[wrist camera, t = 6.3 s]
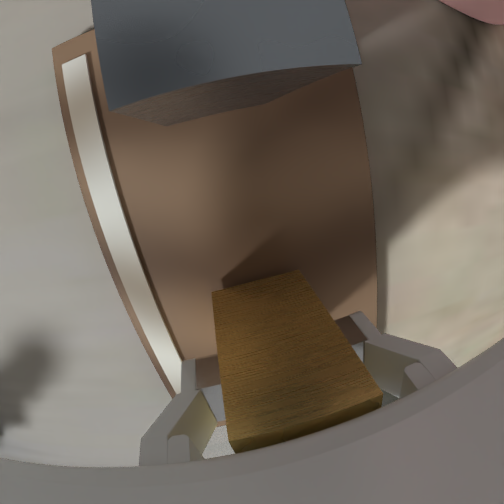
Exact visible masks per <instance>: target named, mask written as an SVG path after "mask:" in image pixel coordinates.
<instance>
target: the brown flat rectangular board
mask: <svg viewBox="0 0 504 504" xmlns="http://www.w3.org/2000/svg"><path fill="white" fill-rule="evenodd" d="M52 54H53V62H54V70H55V77H56V83H57V89H58V95H59V101H60V106H61V111H62V116H63V121H64V126H65V130H66V135H67V139H68V143H69V147H70V151H71V155H72V159H73V163H74V167H75V171H76V174H77V178H78V181H79V185H80V188H81V191H82V195H83V198H84V201H85V204H86V207H87V210H88V213H89V217H90V219H91V222H92V225H93V228H94V231H95V234H96V237H97V239H98V242H99V245H100V248H101V250H102V253H103V256H104V258H105V261H106V263H107V266H108V268H109V271H110V273H111V276H112V278H113V281H114V283H115V285H116V288H117V290H118V292H119V295H120V297H121V299H122V301H123V304H124V306H125V308H126V310H127V313H128V315H129V317H130V319H131V321H132V323H133V325H134V327H135V330H136V332H137V334H138V336H139V338H140V340H141V342H142V344H143V346H144V348H145V350H146V352H147V354H148V355H149V357H150V359H151V361H152V363H153V365H154V367H155V369H156V371H157V372H158V374H159V376H160V378H161V380H162V381H163V383H164V385H165V387H166V388H167V390H168V392H169V394H170V395H171V397H172V399H173V398H174V397H175V395H176V394H179V393H181V363H182V361H184V360H189V359H194V358H198V357H203V356H208V355H212V354H217V344H216V335H215V325H214V315H213V304H212V293H211V292H214V291H218V290H222V289H226V288H229V287H233V286H237V285H241V284H245V283H249V282H253V281H256V280H260V279H264V278H268V277H271V276H275V275H279V274H283V273H286V272H290V271H294V270H297V269H299V271H300V272H301V274H302V275H303V276H304V278H305V279H306V281H307V282H308V284H309V285H310V286H311V288H312V289H313V291H314V292H315V294H316V295H317V296H318V298H319V299H320V301H321V302H322V304H323V305H324V307H325V308H326V309H327V311H328V312H329V314H330V315H331V317H332V318H333V320H336V319H339V318H342V317H345V316H348V315H350V314H352V313H355V312H358V311H362V312H363V313H364V314H365V316H366V317H367V318H368V319H369V320H370V321H371V323H372V324H373V325H374V326H375V327H376V328H377V259H376V236H375V220H374V207H373V196H372V185H371V176H370V167H369V159H368V152H367V145H366V138H365V131H364V125H363V119H362V113H361V108H360V102H359V97H358V92H357V87H356V82H355V77H354V73H353V68H349V69H346V70H344V71H341V72H338V73H336V74H333V75H331V76H328V77H326V78H323V79H321V80H318V81H316V82H313V83H311V84H309V85H306V86H304V87H302V88H299V89H297V90H295V91H292V92H290V93H288V94H286V95H284V96H281V97H279V98H277V99H275V100H273V101H271V102H269V103H266V104H263V105H258V106H252V107H247V108H242V109H237V110H232V111H227V112H223V113H218V114H214V115H210V116H205V117H201V118H197V119H193V120H189V121H186V122H182V123H178V124H174V125H171V126H163V125H160V124H156V123H153V122H149V121H145V120H142V119H138V118H134V117H130V116H126V115H123V114H119V113H115V112H110V111H109V109H108V104H107V99H106V94H105V89H104V84H103V79H102V73H101V68H100V62H99V56H98V50H97V43H96V37H95V29H94V30H91V31H89V32H86V33H84V34H82V35H79V36H77V37H75V38H73V39H70V40H68V41H66V42H64V43H62V44H60V45H58V46H56V47H54V48H52ZM223 425H226V420H223V421H219V422H218V424H217V426H216V427H218V426H223Z"/></svg>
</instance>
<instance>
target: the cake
mask: <svg viewBox="0 0 504 504" xmlns="http://www.w3.org/2000/svg"><path fill="white" fill-rule="evenodd" d="M439 1H441V2H442V3H444V4H446V5H448V6H450V7H452V8H454V9H456V10H458V11H460V12H462V13H464V14H466V15H468V16H470V17H472V18H475V19H477V20H480V21H483V22H486V23H490V24H496V25H503V24H504V0H439Z"/></svg>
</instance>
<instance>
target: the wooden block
mask: <svg viewBox="0 0 504 504" xmlns="http://www.w3.org/2000/svg"><path fill="white" fill-rule="evenodd" d="M211 293H212V304H213V315H214V325H215V335H216V344H217V353H218V362H219V371H220V379H221V388H222V396H223V403H224V411H225V418H226V426H227V433H228V440H229V443H230V445H231V447H232V448H233V450H234V452H235V454H236V453H241V452H246V451H250V450H255V449H259V448H263V447H267V446H271V445H275V444H279V443H282V442H286V441H289V440H293V439H296V438H300V437H303V436H306V435H309V434H312V433H315V432H319V431H322V430H324V429H327V428H330V427H333V426H336V425H339V424H341V423H344V422H347V421H349V420H352V419H354V418H357V417H360V416H362V415H364V414H367V413H369V412H372V411H374V410H376V409H379V408H381V405H382V398H383V393H382V391H381V390H380V388H379V387H378V385H377V384H376V382H375V381H374V379H373V377H372V376H371V374H370V373H369V371H368V370H367V368H366V367H365V365H364V364H363V362H362V361H361V359H360V358H359V356H358V355H357V353H356V352H355V351H354V349H353V348H352V346H351V345H350V343H349V342H348V340H347V339H346V337H345V336H344V334H343V333H342V331H341V330H340V328H339V327H338V325H337V324H336V323H335V321H334V320H333V318H332V317H331V315H330V314H329V312H328V311H327V309H326V308H325V307H324V305H323V304H322V302H321V301H320V299H319V298H318V296H317V295H316V294H315V292H314V291H313V289H312V288H311V286H310V285H309V284H308V282H307V281H306V279H305V278H304V276H303V275H302V274H301V272H300V271H299V269H297V270H294V271H290V272H286V273H283V274H279V275H275V276H271V277H268V278H264V279H260V280H256V281H253V282H249V283H245V284H241V285H237V286H233V287H229V288H226V289H222V290H218V291H214V292H211Z"/></svg>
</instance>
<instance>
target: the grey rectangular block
mask: <svg viewBox="0 0 504 504" xmlns="http://www.w3.org/2000/svg"><path fill="white" fill-rule="evenodd" d="M91 4H92V13H93V22H94V29H95V37H96V43H97V50H98V56H99V62H100V68H101V73H102V79H103V84H104V89H105V94H106V99H107V104H108V109H109V111H110V112H115V113H119V114H123V115H126V116H130V117H134V118H138V119H142V120H145V121H149V122H153V123H156V124H160V125H163V126H171V125H174V124H178V123H182V122H186V121H189V120H193V119H197V118H201V117H205V116H210V115H214V114H218V113H223V112H227V111H232V110H237V109H242V108H247V107H252V106H258V105H263V104H266V103H269V102H271V101H273V100H275V99H277V98H279V97H281V96H284V95H286V94H288V93H290V92H292V91H295V90H297V89H299V88H302V87H304V86H306V85H309V84H311V83H313V82H316V81H318V80H321V79H323V78H326V77H328V76H331V75H333V74H336V73H338V72H341V71H344V70H346V69H349V68H352V67H355V66H357V65H360V64H362V62H361V58H360V54H359V50H358V46H357V42H356V38H355V35H354V31H353V27H352V24H351V20H350V17H349V14H348V10H347V7H346V4H345V1H344V0H91Z"/></svg>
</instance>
